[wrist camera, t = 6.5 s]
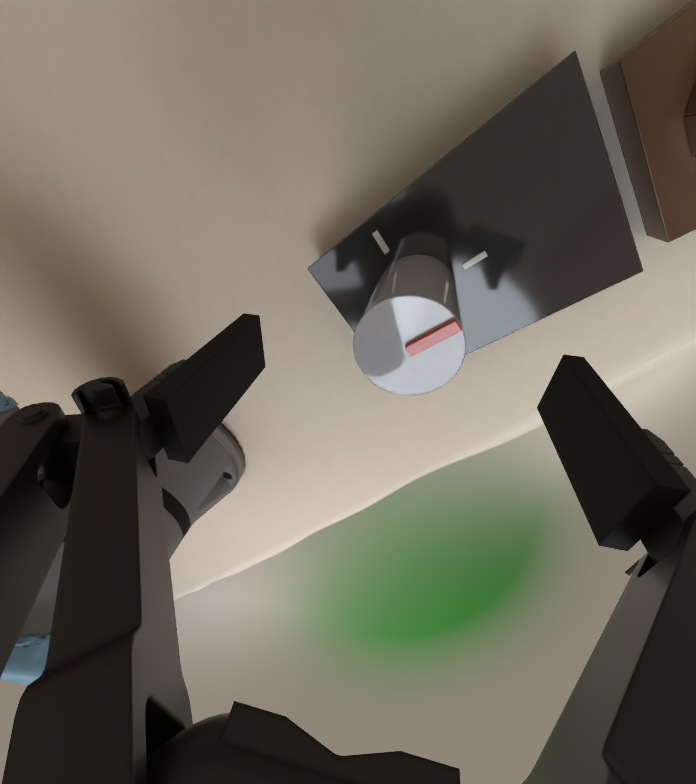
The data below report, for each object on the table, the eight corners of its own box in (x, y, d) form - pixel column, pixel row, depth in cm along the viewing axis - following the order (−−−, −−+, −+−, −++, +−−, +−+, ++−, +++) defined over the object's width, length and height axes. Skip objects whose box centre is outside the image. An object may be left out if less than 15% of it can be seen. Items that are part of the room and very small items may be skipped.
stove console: (398, 368, 28) (395, 389, 25) (319, 257, 24) (306, 269, 21) (619, 258, 20) (645, 272, 18) (555, 66, 16) (577, 48, 14)
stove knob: (402, 345, 23) (390, 412, 17) (360, 285, 21) (329, 336, 15) (471, 308, 21) (487, 371, 14) (431, 235, 19) (429, 272, 13)
